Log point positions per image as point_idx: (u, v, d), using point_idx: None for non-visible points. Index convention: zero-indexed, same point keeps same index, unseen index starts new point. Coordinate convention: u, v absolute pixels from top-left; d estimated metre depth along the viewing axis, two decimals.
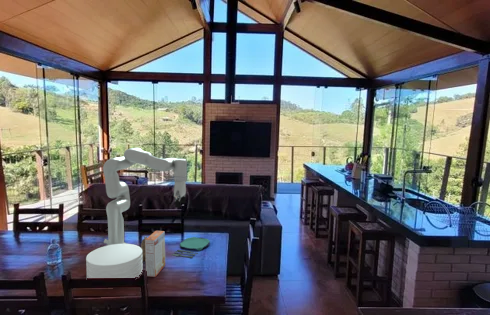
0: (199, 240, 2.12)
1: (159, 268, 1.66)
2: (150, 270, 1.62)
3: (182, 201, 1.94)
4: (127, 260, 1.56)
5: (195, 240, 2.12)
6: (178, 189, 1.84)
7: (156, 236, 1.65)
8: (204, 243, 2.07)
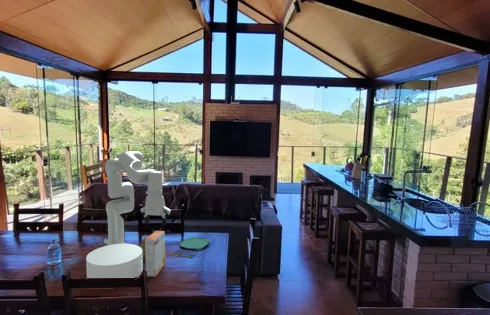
0: (199, 240, 2.13)
1: (159, 268, 1.66)
2: (150, 270, 1.62)
3: (148, 221, 1.67)
4: (127, 260, 1.56)
5: (195, 240, 2.12)
6: (164, 204, 1.65)
7: (156, 236, 1.65)
8: (204, 243, 2.07)
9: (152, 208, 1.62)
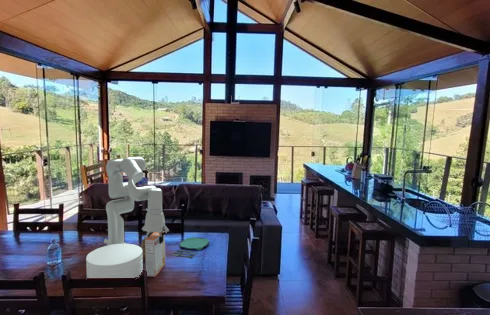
0: (198, 240, 2.13)
1: (159, 268, 1.66)
2: (150, 270, 1.62)
3: None
4: (127, 260, 1.56)
5: (194, 240, 2.13)
6: (164, 221, 1.66)
7: (156, 236, 1.65)
8: (204, 243, 2.08)
9: (152, 225, 1.64)
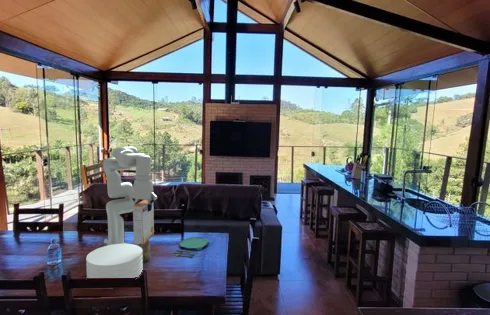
0: (198, 240, 2.13)
1: (147, 236, 1.64)
2: (137, 237, 1.59)
3: None
4: (127, 260, 1.56)
5: (194, 240, 2.13)
6: (152, 189, 1.63)
7: (144, 203, 1.62)
8: (203, 243, 2.08)
9: (140, 192, 1.61)
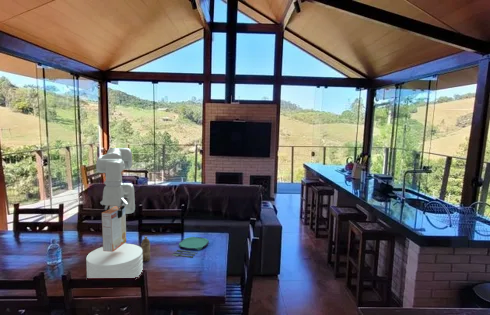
0: (198, 240, 2.13)
1: (117, 243, 1.61)
2: (107, 244, 1.56)
3: None
4: (127, 260, 1.56)
5: (194, 240, 2.13)
6: (122, 195, 1.60)
7: (114, 210, 1.59)
8: (203, 243, 2.08)
9: (110, 198, 1.58)
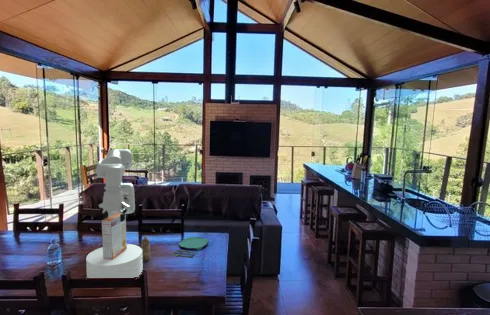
0: (197, 240, 2.13)
1: (117, 250, 1.61)
2: (107, 252, 1.57)
3: (106, 217, 1.63)
4: (127, 260, 1.56)
5: (193, 240, 2.13)
6: (122, 200, 1.61)
7: (114, 217, 1.60)
8: (203, 242, 2.08)
9: (110, 204, 1.58)
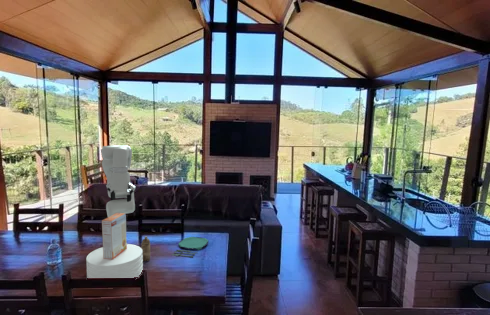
0: (197, 240, 2.13)
1: (117, 250, 1.61)
2: (107, 252, 1.57)
3: (113, 197, 1.68)
4: (127, 260, 1.56)
5: (193, 240, 2.13)
6: (129, 181, 1.65)
7: (114, 217, 1.60)
8: (203, 242, 2.08)
9: (117, 184, 1.63)
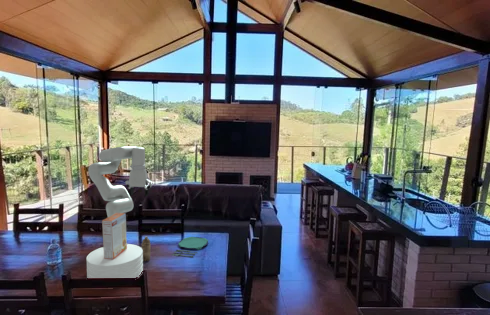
0: (197, 240, 2.13)
1: (118, 250, 1.61)
2: (107, 252, 1.57)
3: (132, 192, 1.84)
4: (128, 260, 1.56)
5: (193, 240, 2.13)
6: (146, 177, 1.82)
7: (115, 217, 1.60)
8: (202, 242, 2.08)
9: (135, 180, 1.80)
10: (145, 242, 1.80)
